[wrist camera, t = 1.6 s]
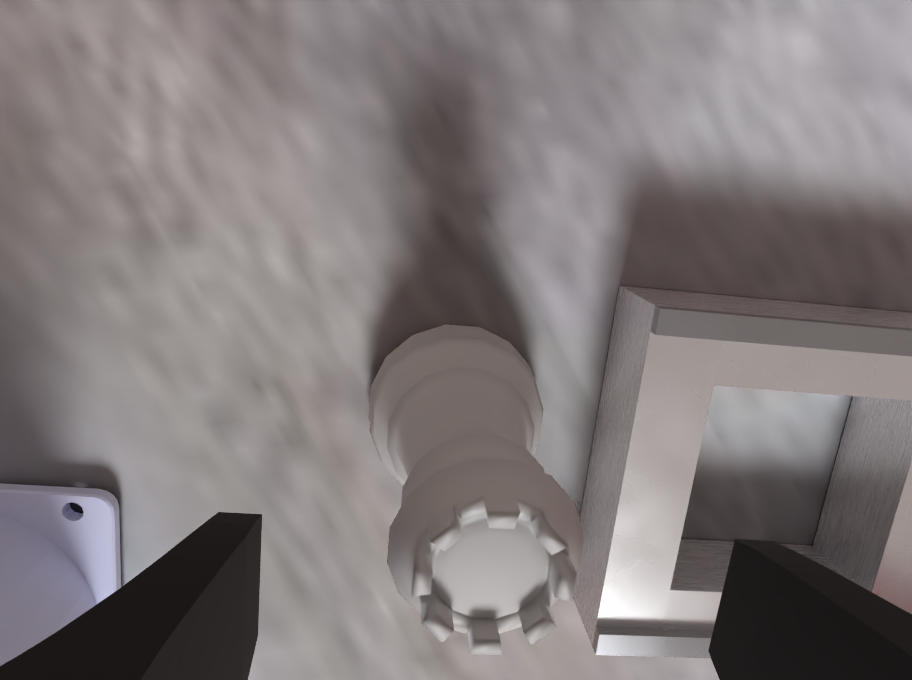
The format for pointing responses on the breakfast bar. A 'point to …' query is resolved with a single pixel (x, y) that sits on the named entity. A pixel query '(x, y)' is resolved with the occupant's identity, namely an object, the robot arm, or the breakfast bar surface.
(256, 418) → the breakfast bar surface
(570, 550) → the rook chess piece
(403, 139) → the breakfast bar surface
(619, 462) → the block
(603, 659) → the breakfast bar surface
